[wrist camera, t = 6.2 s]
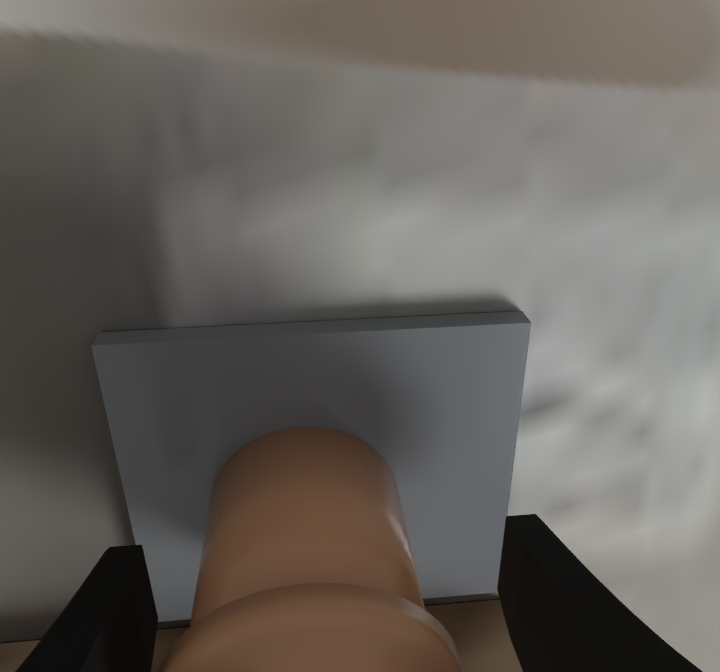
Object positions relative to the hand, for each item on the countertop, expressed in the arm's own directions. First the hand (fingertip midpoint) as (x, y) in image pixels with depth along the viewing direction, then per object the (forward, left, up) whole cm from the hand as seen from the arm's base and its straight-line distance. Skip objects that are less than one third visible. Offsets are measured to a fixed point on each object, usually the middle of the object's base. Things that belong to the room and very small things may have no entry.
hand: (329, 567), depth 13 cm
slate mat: (0, 0, -3) cm, 3 cm away
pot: (0, 0, -2) cm, 2 cm away
